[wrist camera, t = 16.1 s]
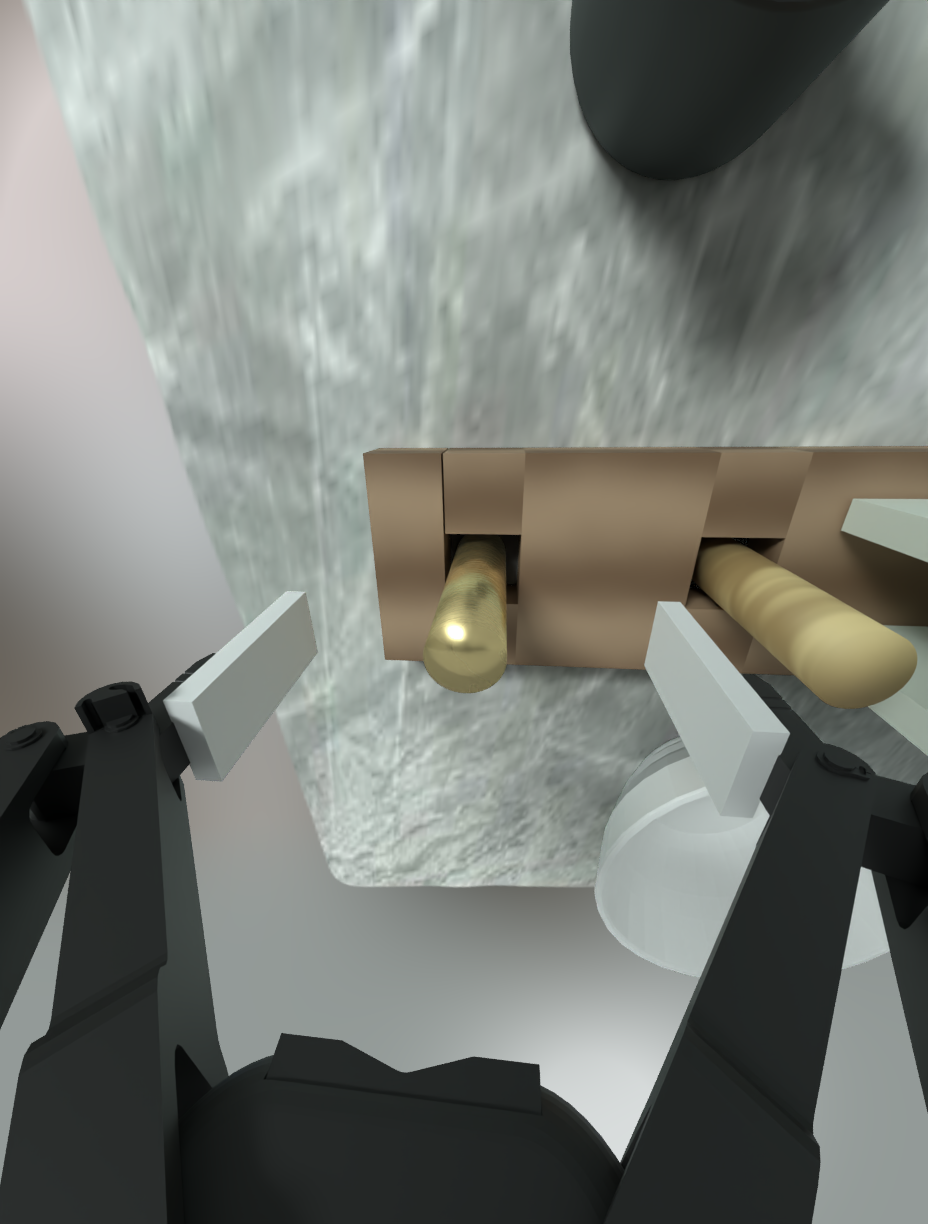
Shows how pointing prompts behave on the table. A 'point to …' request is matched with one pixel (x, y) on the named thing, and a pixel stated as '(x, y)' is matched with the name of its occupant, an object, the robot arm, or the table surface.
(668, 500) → the wooden slotted block
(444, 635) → the pin
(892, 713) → the housing
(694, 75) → the mug
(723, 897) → the bowl
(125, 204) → the table surface
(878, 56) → the table surface
